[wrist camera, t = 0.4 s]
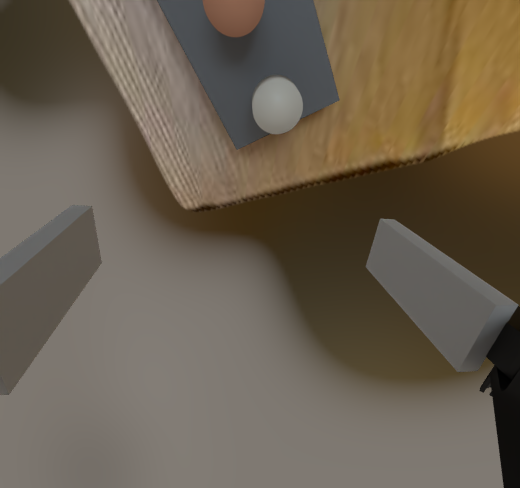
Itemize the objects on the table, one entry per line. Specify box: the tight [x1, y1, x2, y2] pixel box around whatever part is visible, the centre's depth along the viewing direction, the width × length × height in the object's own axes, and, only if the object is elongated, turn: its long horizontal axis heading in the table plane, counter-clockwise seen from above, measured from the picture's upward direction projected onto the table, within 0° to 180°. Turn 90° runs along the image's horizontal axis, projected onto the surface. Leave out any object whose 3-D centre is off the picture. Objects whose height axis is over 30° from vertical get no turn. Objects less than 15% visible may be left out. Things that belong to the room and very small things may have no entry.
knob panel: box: [157, 0, 339, 150], centre depth 26 cm, size 12×23×5 cm, turn 25°
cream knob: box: [252, 75, 303, 134], centre depth 28 cm, size 4×4×7 cm
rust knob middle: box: [203, 0, 265, 37], centre depth 23 cm, size 4×4×7 cm
